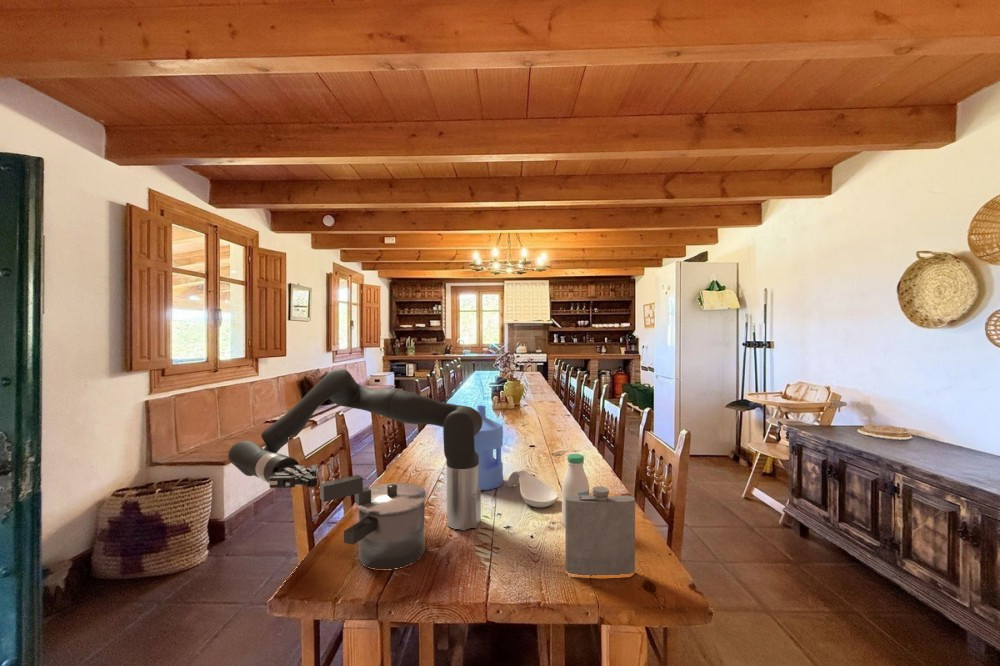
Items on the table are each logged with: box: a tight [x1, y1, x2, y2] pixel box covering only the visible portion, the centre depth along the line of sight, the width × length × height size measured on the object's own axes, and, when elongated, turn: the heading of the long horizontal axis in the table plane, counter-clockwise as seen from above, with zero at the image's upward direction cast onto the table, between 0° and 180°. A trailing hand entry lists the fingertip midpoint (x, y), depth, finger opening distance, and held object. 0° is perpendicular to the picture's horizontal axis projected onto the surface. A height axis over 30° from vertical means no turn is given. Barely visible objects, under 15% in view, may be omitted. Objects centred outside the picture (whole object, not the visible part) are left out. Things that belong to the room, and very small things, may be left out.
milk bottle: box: [561, 453, 590, 526], centre depth 124 cm, size 8×8×20 cm
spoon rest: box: [507, 470, 559, 508], centre depth 144 cm, size 24×12×7 cm, turn 28°
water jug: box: [474, 405, 504, 491], centre depth 157 cm, size 16×16×28 cm
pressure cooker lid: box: [319, 474, 427, 515], centre depth 106 cm, size 25×17×8 cm, turn 129°
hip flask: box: [564, 486, 636, 576], centre depth 99 cm, size 16×4×20 cm, turn 90°
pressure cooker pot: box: [343, 502, 426, 569], centre depth 105 cm, size 24×16×13 cm, turn 159°
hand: (314, 482), depth 104 cm, fingers closed
